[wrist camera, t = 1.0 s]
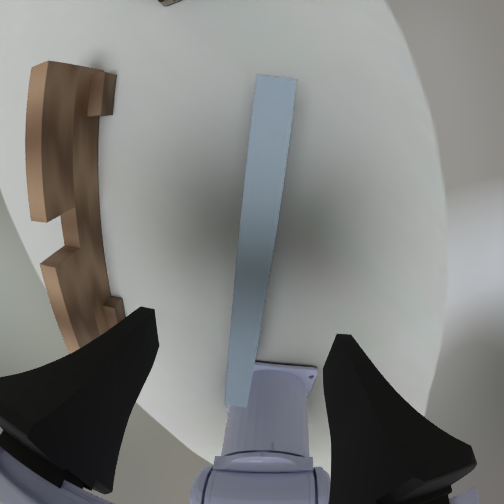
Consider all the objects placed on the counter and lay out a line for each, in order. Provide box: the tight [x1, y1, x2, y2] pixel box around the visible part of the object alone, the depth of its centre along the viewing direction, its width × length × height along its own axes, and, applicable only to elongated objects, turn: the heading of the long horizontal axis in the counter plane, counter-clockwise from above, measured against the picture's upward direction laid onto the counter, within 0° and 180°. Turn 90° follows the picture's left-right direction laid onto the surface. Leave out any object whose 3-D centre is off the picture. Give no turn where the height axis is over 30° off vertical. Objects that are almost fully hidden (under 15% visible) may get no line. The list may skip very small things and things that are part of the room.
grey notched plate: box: [225, 74, 297, 408], centre depth 16 cm, size 20×2×6 cm, turn 174°
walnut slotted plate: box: [25, 61, 126, 354], centre depth 16 cm, size 22×4×6 cm, turn 174°
